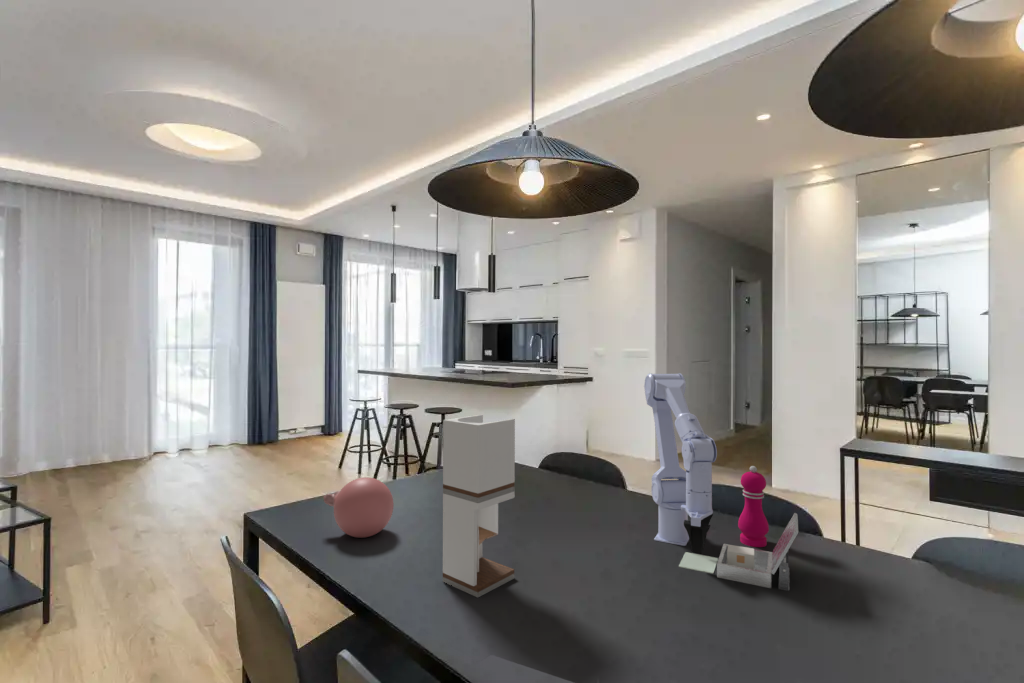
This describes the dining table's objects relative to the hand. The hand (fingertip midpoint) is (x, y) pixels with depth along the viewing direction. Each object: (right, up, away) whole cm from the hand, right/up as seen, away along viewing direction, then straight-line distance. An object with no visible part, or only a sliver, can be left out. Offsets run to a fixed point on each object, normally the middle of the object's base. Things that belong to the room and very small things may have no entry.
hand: (698, 547), depth 120 cm
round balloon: (-86, -4, +18) cm, 88 cm away
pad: (0, -4, 0) cm, 4 cm away
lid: (+16, +5, -8) cm, 18 cm away
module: (+8, -4, -4) cm, 10 cm away
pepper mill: (+19, -4, +13) cm, 23 cm away
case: (+11, -4, -5) cm, 12 cm away
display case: (-51, -4, -9) cm, 52 cm away
